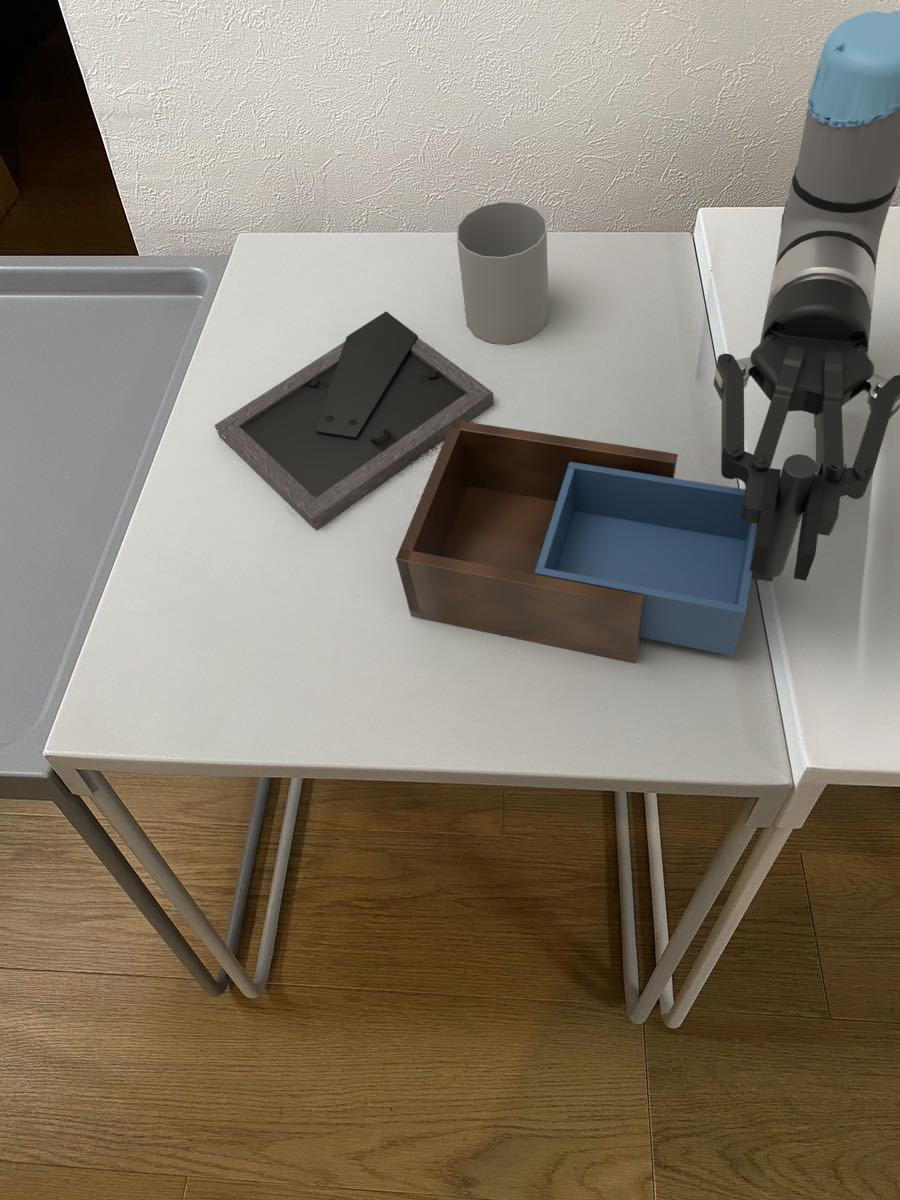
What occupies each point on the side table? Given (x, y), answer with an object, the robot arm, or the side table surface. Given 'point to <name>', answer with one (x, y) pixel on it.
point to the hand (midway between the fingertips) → (781, 562)
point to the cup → (504, 271)
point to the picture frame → (353, 418)
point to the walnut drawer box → (514, 541)
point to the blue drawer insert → (671, 546)
